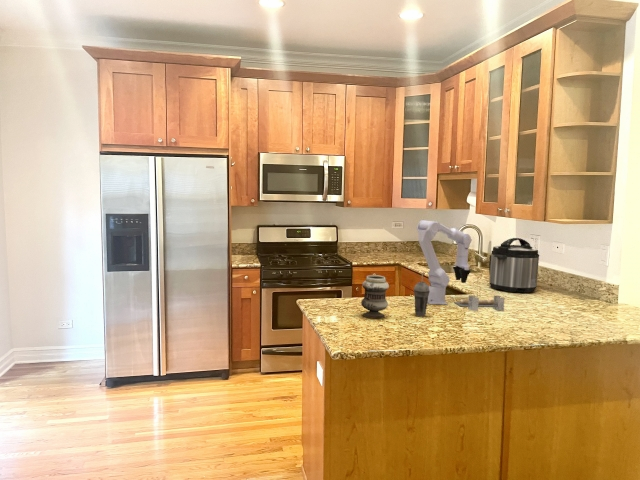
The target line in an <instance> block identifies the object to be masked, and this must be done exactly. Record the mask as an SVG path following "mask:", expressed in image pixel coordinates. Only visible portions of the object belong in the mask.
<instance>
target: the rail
mask: <svg viewBox="0 0 640 480" xmlns="http://www.w3.org/2000/svg"><path fill="white" fill-rule="evenodd" d="M468 300H469V298H467V299H462V298H461V299H460V300H459V302H460V304H468ZM493 303H494V299H479V303H478V304H487V305H493Z"/></svg>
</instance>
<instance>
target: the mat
mask: <svg viewBox="0 0 640 480" xmlns="http://www.w3.org/2000/svg"><path fill="white" fill-rule="evenodd" d="M453 303H454V304H455V305H457V306H458V307H460V308H468V304H460V301H457V302H456V301H454V302H453ZM478 308H493V305H487V304H478Z"/></svg>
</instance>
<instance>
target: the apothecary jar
mask: <svg viewBox="0 0 640 480" xmlns="http://www.w3.org/2000/svg"><path fill="white" fill-rule="evenodd" d="M361 286H362V288H363V289H364V297H363V298H362V300H361V301H360V304H361V305H360V306H362V307H363V308H364V309H366V310H368V311H366V312H364V313H362V316H363V317H365V318H368V319H384V318H385V317H386V316H385V314H384V313H382V311H383V310H386V309H387V308H388V306H389V302H388V301H387V300H386V298H387V297H386V295H387V290H389V287H390V285H389V283H388V281H387V280H386V277H385V276H383V275H375V274H369V275H366V279H365V280H364V281H363V282H362V285H361ZM380 311H381V312H380Z"/></svg>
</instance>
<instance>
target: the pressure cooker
mask: <svg viewBox="0 0 640 480" xmlns="http://www.w3.org/2000/svg"><path fill="white" fill-rule="evenodd" d="M516 241H518V243H519V244H520V245H519V244H513V242H516ZM488 262H489V263H488V269H489V287H491V288H492V289H495V290H502V291H505V292H511V293H512V292H513V293H515V292H517V293H526V294H527V293H534V292H535V291H536V289H537V285H538V275H539V274H538V272H539V263H540V254H539V250H538V249H534V248H533V246H531V244H530V243H529V242H528V241H527V240H525V239H523V238H519V237H512V238H509V239H506V240H504V241H502V243H500V245H496V246H493V247H492V250H491V254H490V255H489V261H488Z"/></svg>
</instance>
